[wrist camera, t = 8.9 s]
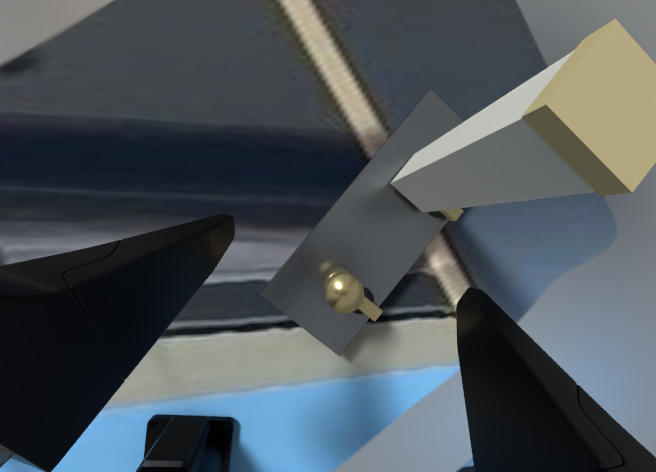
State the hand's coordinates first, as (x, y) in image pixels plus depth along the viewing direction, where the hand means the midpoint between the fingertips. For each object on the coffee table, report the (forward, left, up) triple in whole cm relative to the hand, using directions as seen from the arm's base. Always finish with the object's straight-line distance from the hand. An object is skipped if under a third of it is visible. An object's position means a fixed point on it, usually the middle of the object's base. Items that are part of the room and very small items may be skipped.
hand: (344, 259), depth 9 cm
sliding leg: (+5, -8, -10) cm, 14 cm away
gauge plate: (+2, -5, -12) cm, 13 cm away
